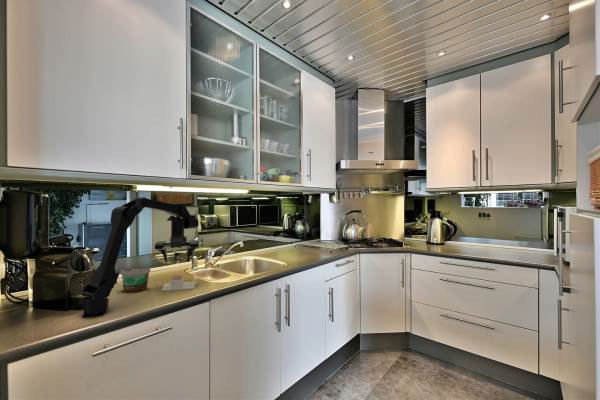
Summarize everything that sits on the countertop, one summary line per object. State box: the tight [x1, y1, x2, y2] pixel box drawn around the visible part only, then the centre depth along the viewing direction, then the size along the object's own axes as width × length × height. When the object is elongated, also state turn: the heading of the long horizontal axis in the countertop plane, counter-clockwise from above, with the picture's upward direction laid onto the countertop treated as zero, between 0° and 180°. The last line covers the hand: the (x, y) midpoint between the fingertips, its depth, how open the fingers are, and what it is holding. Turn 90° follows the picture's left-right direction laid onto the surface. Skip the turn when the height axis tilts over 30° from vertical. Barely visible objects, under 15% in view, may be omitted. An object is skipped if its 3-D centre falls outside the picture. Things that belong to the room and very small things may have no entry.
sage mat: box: [161, 281, 196, 292], centre depth 132 cm, size 14×10×1 cm
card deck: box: [170, 275, 184, 289], centre depth 131 cm, size 5×7×4 cm
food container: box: [119, 267, 151, 294], centre depth 125 cm, size 12×6×10 cm, turn 105°
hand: (177, 262), depth 131 cm, fingers open, 9 cm apart
